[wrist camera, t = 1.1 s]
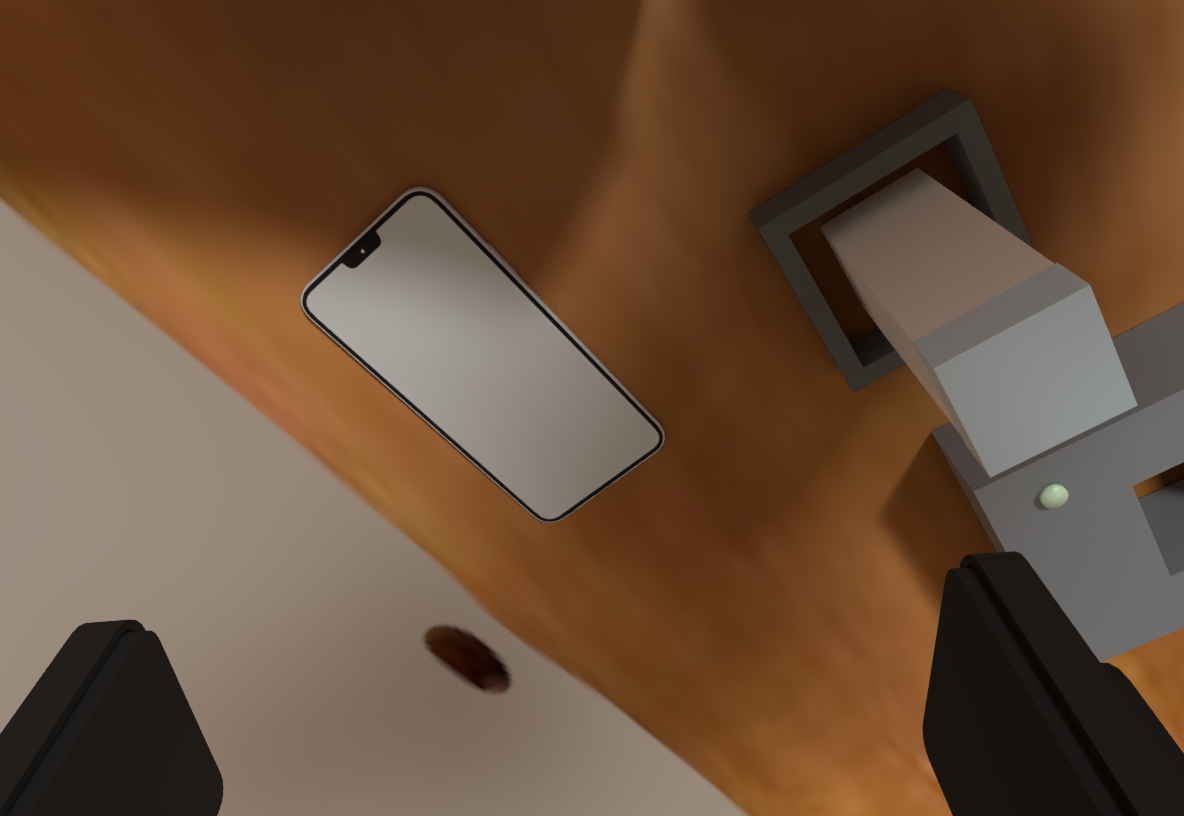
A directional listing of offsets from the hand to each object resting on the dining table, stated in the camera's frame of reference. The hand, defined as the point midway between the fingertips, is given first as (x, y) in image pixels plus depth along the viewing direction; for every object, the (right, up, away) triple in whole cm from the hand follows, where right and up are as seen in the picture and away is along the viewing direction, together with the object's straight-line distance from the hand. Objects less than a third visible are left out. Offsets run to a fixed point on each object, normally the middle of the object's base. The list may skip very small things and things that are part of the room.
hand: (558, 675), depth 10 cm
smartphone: (-4, +5, +25) cm, 26 cm away
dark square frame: (+12, +10, +22) cm, 27 cm away
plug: (+12, +10, +22) cm, 27 cm away
